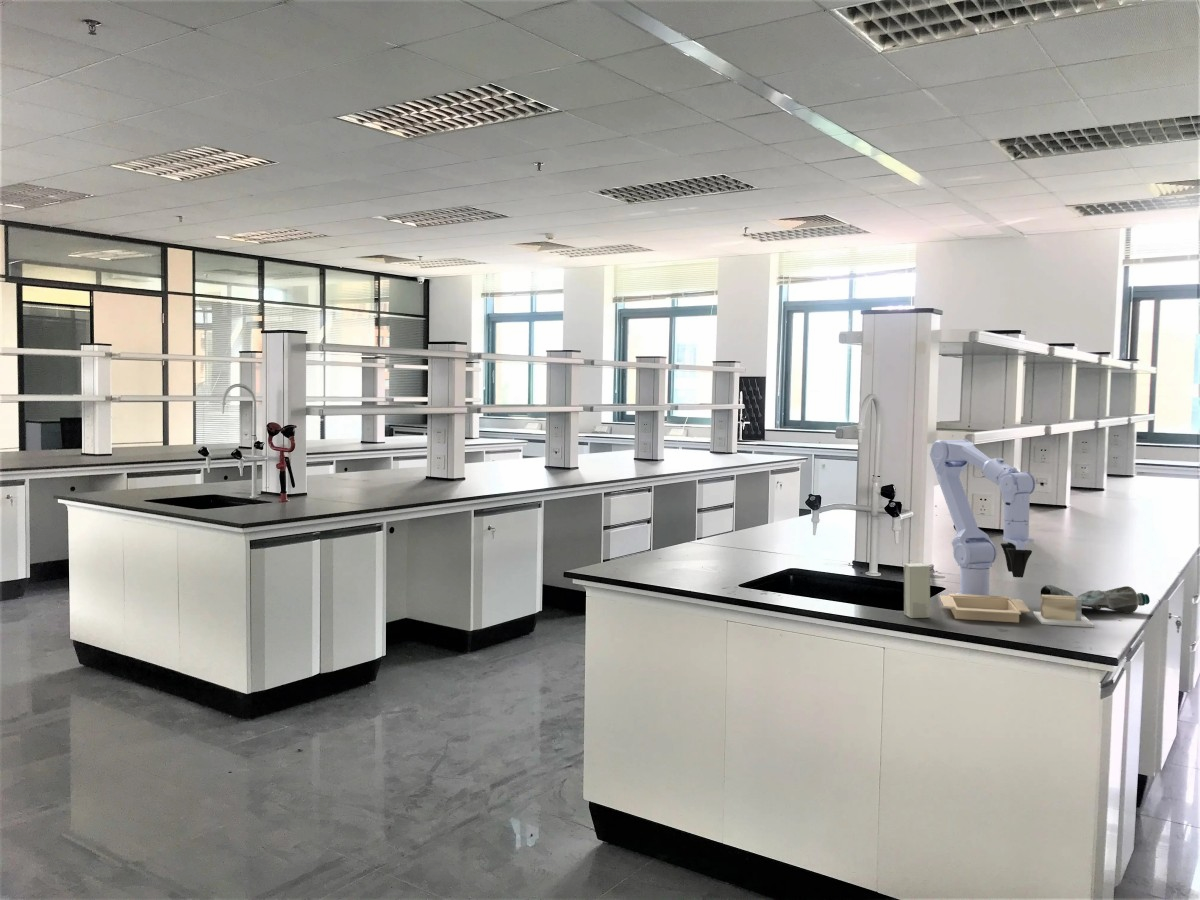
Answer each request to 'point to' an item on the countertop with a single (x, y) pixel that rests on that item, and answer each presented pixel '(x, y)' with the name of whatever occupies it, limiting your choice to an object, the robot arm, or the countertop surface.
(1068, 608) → the block
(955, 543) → the robot arm
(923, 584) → the box
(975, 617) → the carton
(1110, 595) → the crushed plastic bottle
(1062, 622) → the mat
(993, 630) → the countertop surface
